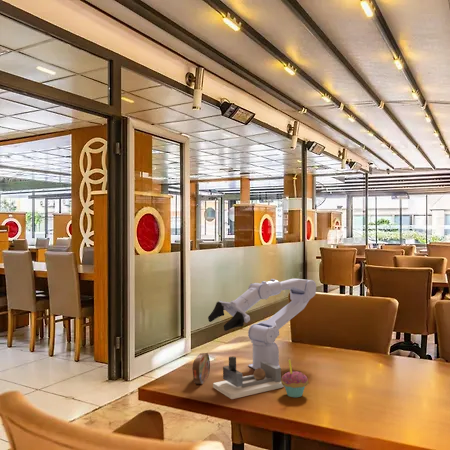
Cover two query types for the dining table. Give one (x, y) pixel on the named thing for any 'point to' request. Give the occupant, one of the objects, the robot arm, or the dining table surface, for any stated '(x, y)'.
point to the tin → (201, 368)
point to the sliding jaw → (232, 373)
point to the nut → (259, 374)
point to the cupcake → (294, 382)
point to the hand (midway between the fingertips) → (216, 323)
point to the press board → (252, 383)
